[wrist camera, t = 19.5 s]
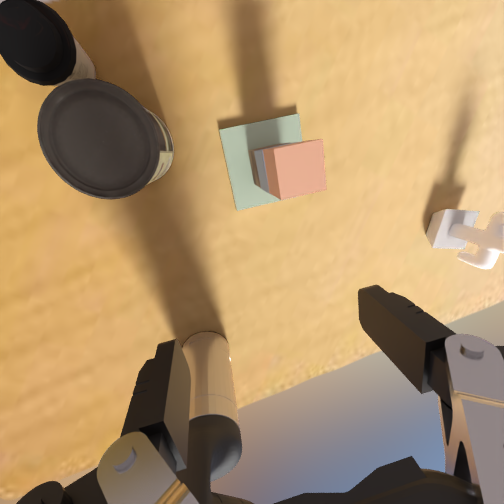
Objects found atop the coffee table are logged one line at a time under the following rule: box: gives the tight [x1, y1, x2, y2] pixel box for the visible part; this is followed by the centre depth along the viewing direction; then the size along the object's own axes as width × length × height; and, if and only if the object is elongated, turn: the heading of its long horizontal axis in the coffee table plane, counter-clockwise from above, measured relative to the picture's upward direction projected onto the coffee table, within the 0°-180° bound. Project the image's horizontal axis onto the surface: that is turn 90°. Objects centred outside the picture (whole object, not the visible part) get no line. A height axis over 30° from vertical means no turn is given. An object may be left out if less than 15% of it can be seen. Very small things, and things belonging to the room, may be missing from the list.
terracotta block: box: [263, 139, 326, 200], centre depth 28 cm, size 5×5×5 cm
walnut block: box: [248, 142, 290, 188], centre depth 38 cm, size 5×5×5 cm
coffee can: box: [37, 78, 174, 199], centre depth 30 cm, size 10×10×14 cm
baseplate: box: [219, 114, 307, 211], centre depth 40 cm, size 12×12×1 cm
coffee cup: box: [0, 0, 96, 86], centre depth 28 cm, size 7×7×10 cm
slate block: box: [254, 142, 297, 194], centre depth 33 cm, size 5×5×5 cm
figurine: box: [426, 209, 504, 269], centre depth 44 cm, size 7×9×15 cm
